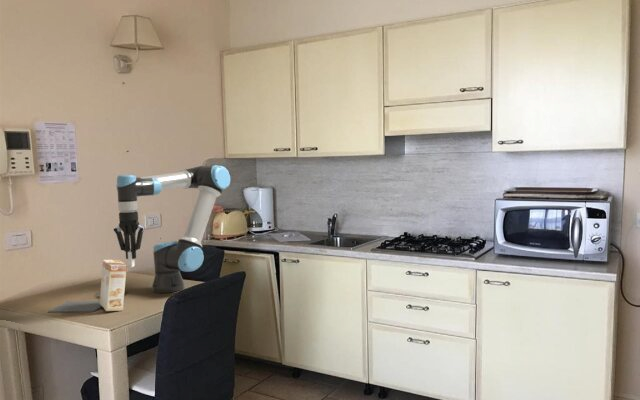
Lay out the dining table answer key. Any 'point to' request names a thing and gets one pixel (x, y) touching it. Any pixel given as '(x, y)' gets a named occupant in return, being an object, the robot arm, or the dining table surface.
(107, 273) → the coffeecake box
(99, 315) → the dining table surface
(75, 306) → the mat
